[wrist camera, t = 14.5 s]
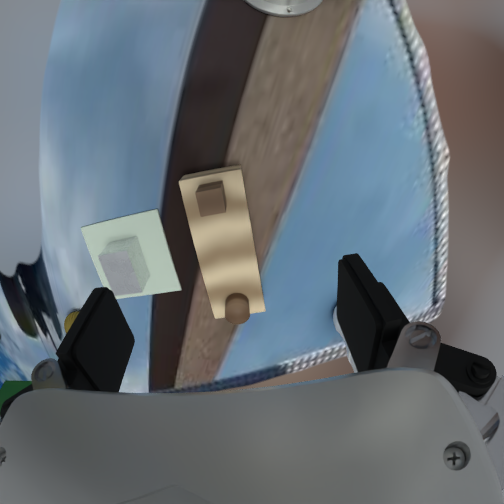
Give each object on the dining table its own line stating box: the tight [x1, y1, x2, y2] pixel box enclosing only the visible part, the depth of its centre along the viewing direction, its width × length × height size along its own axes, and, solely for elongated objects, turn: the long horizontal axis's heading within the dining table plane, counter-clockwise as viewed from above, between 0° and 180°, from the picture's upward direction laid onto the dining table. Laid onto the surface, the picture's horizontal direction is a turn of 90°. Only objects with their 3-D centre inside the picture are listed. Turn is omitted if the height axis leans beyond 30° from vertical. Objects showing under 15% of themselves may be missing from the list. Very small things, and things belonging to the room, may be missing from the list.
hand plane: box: [179, 164, 265, 324], centre depth 40 cm, size 22×8×8 cm, turn 9°
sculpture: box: [64, 311, 79, 334], centre depth 48 cm, size 8×4×8 cm
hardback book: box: [0, 381, 32, 418], centre depth 51 cm, size 18×7×24 cm, turn 105°
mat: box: [81, 209, 182, 299], centre depth 44 cm, size 14×14×1 cm
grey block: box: [98, 236, 150, 296], centre depth 42 cm, size 7×5×5 cm
